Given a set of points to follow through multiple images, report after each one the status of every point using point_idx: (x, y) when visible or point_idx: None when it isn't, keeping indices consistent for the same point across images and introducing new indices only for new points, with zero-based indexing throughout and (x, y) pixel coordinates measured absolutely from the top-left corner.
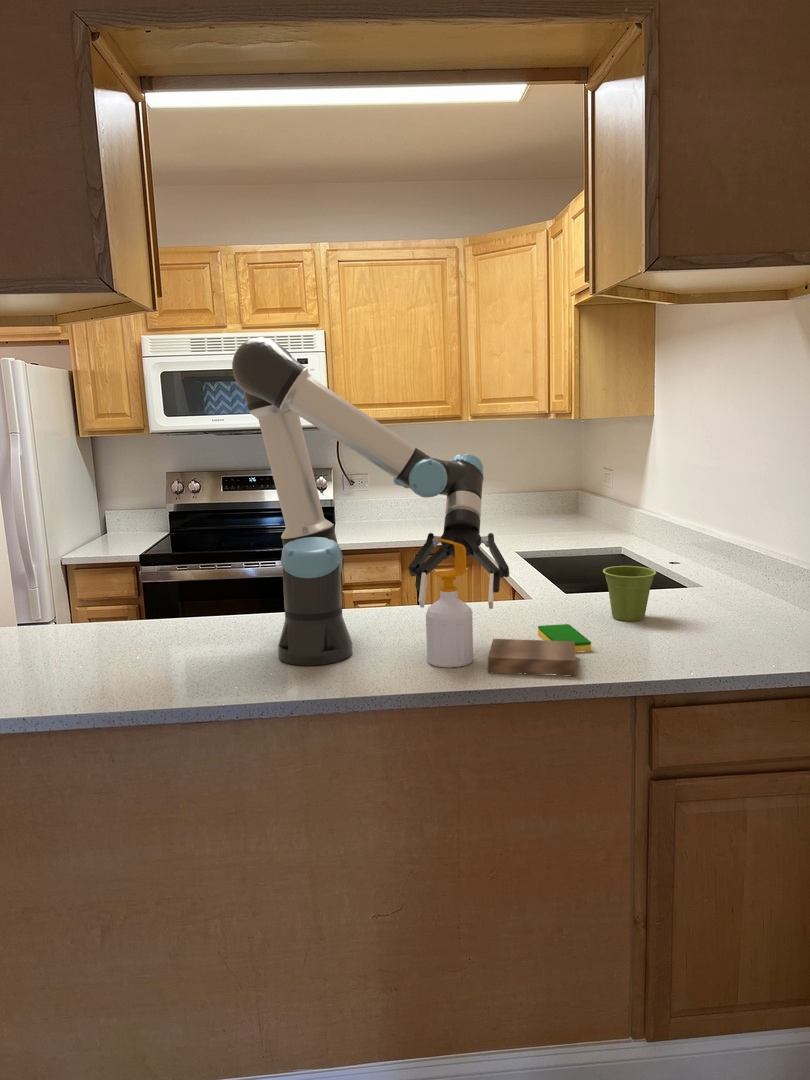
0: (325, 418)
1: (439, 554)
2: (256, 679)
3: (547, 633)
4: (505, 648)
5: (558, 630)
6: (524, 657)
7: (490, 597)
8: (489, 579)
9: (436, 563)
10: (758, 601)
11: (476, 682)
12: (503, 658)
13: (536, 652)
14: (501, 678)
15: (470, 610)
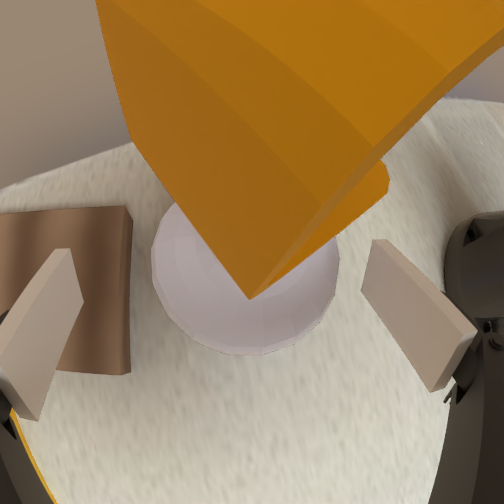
0: None
1: (480, 496)
2: (484, 166)
3: None
4: (81, 284)
5: None
6: (46, 219)
7: (53, 260)
8: (17, 329)
9: (448, 474)
10: None
11: None
12: (89, 207)
13: (20, 259)
14: (106, 194)
15: (154, 243)
